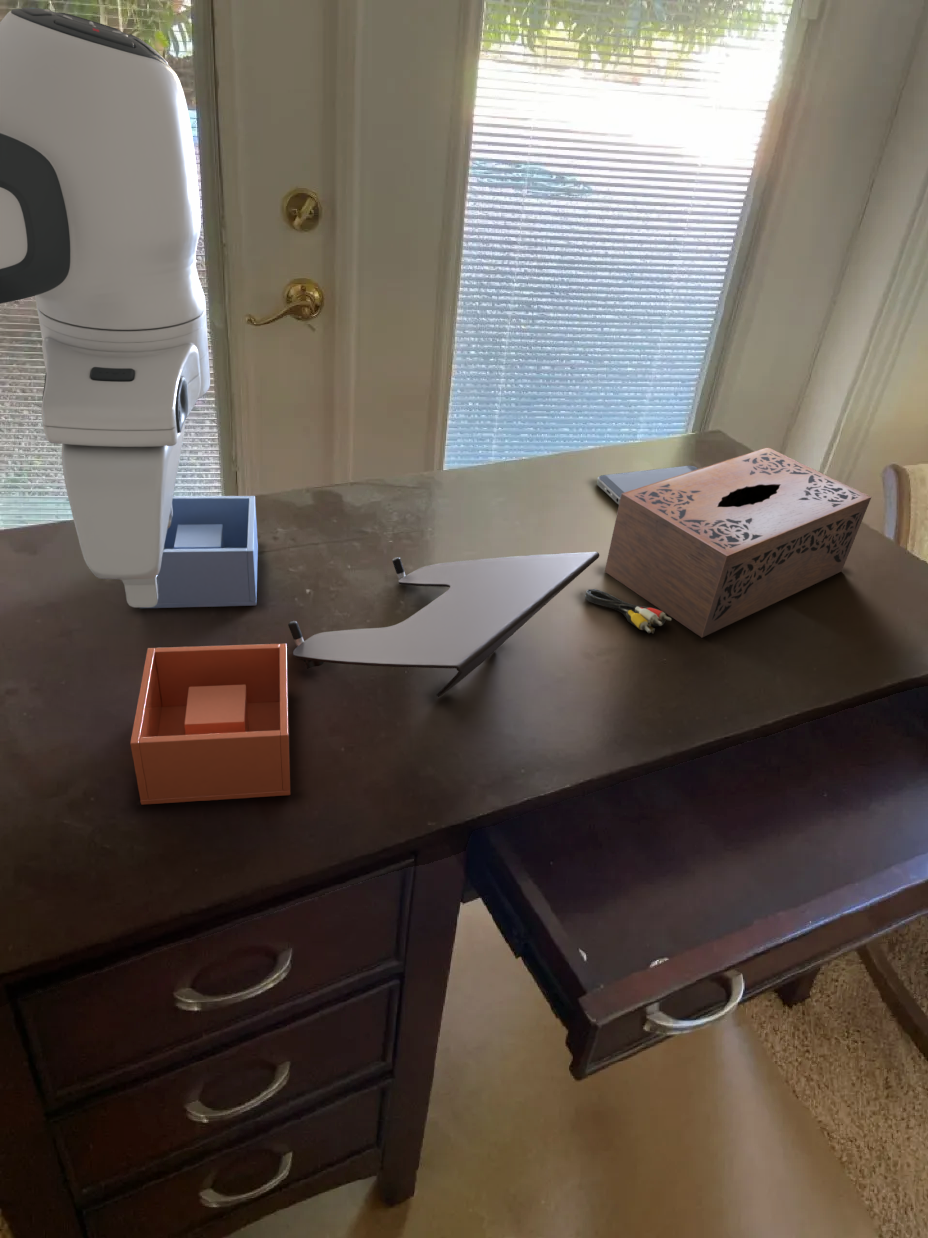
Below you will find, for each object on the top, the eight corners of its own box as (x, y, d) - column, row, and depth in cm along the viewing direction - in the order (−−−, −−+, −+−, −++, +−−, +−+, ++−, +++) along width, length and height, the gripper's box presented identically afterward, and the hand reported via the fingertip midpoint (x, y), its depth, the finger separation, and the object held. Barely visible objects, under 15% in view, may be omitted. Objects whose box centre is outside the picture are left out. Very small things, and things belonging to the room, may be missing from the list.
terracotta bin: (141, 805, 68) (130, 743, 64) (156, 707, 77) (147, 647, 73) (290, 795, 70) (288, 735, 66) (288, 701, 79) (286, 643, 75)
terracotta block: (189, 766, 71) (184, 724, 68) (193, 727, 74) (188, 686, 72) (247, 763, 72) (244, 721, 69) (248, 724, 75) (245, 684, 72)
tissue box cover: (701, 637, 92) (726, 556, 86) (604, 571, 101) (621, 493, 95) (841, 571, 106) (871, 496, 100) (745, 518, 115) (767, 447, 109)
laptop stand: (438, 620, 101) (414, 545, 97) (616, 619, 86) (594, 530, 83) (294, 725, 85) (260, 639, 82) (483, 746, 70) (449, 642, 67)
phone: (622, 509, 113) (724, 496, 119) (624, 502, 113) (726, 489, 119) (593, 482, 119) (692, 470, 125) (595, 475, 118) (694, 464, 124)
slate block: (178, 584, 91) (173, 547, 88) (181, 561, 94) (177, 524, 92) (223, 584, 92) (220, 546, 89) (225, 560, 95) (222, 524, 92)
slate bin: (140, 608, 88) (131, 552, 84) (152, 548, 97) (145, 495, 93) (256, 605, 90) (253, 551, 86) (257, 547, 99) (255, 495, 95)
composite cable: (578, 598, 96) (582, 579, 95) (609, 586, 99) (613, 567, 97) (647, 646, 90) (652, 626, 89) (677, 631, 93) (682, 611, 91)
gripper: (98, 297, 58) (122, 485, 66) (32, 427, 42) (75, 655, 50) (198, 303, 60) (210, 487, 68) (171, 431, 44) (191, 652, 52)
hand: (152, 560), depth 59 cm, fingers open, 8 cm apart
